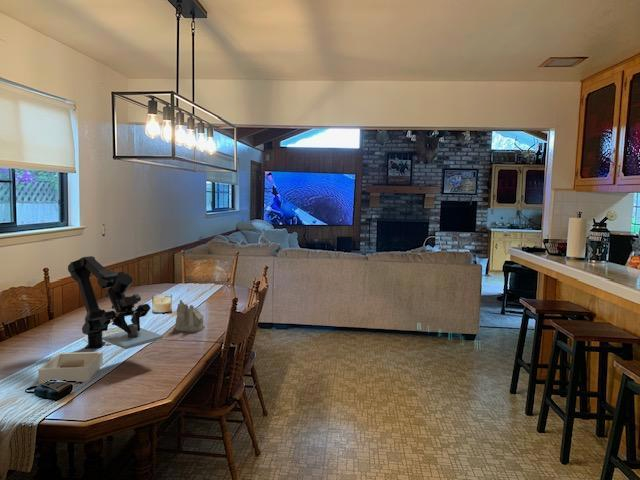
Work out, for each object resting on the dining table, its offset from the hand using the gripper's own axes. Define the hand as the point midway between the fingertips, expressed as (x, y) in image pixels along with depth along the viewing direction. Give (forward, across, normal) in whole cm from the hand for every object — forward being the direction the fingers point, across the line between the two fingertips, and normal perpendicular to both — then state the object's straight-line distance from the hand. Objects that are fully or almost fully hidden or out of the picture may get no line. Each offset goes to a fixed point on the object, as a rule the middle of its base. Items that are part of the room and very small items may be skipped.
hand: (134, 331), depth 173 cm
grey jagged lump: (-7, +44, +25) cm, 51 cm away
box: (+3, -20, +15) cm, 25 cm away
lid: (+2, 0, +4) cm, 4 cm away
